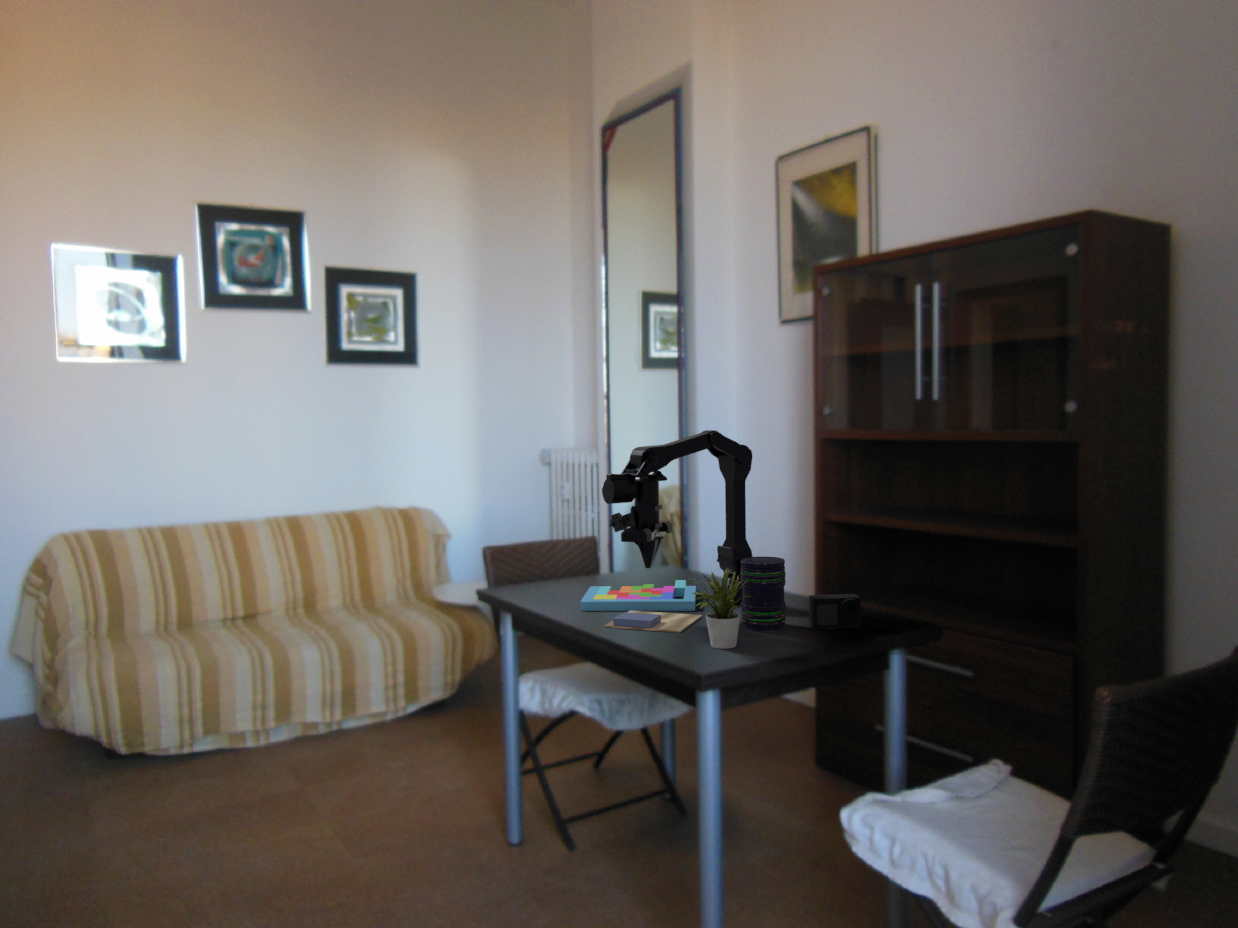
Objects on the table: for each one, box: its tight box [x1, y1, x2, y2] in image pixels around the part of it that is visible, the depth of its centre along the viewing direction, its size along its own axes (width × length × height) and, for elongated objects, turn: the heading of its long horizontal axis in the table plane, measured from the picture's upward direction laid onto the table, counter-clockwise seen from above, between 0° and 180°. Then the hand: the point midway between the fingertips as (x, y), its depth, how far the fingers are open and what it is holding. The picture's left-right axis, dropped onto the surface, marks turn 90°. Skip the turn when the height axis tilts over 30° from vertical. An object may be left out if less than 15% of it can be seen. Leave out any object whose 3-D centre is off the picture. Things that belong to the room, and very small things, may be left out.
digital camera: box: [808, 593, 862, 630], centre depth 196 cm, size 10×5×7 cm, turn 93°
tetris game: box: [579, 579, 697, 612], centre depth 232 cm, size 28×3×28 cm
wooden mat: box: [603, 610, 703, 633], centre depth 206 cm, size 18×16×1 cm
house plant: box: [685, 567, 752, 650], centre depth 184 cm, size 14×14×16 cm
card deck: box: [612, 611, 661, 628], centre depth 202 cm, size 9×2×6 cm
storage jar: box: [740, 556, 787, 633], centre depth 198 cm, size 10×10×15 cm
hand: (648, 567), depth 208 cm, fingers closed
